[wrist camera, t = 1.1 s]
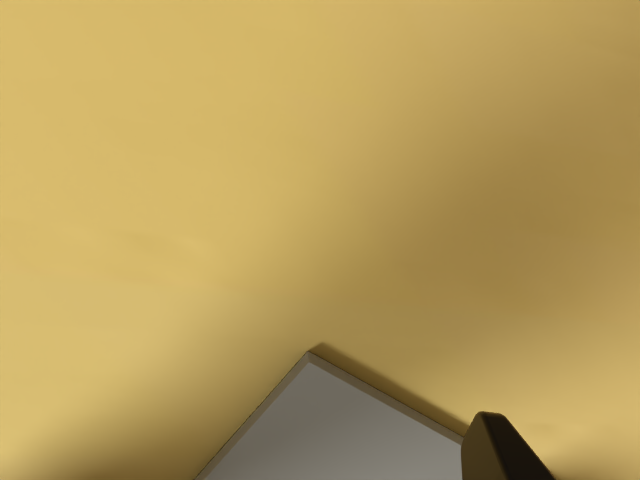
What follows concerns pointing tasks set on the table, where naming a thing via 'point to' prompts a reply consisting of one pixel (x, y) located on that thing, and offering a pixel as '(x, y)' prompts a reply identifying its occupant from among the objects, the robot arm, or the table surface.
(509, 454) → the robot arm
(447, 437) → the slate mat
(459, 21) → the table surface
